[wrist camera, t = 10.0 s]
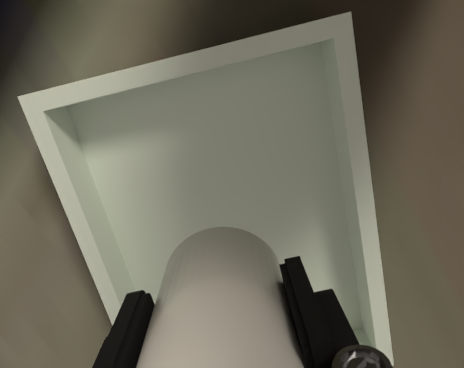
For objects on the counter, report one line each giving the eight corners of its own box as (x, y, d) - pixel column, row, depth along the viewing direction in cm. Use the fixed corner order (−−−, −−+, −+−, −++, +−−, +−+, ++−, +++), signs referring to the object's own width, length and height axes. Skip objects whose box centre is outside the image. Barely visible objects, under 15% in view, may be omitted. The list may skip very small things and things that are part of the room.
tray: (330, 22, 17) (351, 11, 14) (372, 327, 22) (393, 365, 19) (52, 92, 17) (17, 96, 15) (158, 369, 23) (148, 411, 20)
